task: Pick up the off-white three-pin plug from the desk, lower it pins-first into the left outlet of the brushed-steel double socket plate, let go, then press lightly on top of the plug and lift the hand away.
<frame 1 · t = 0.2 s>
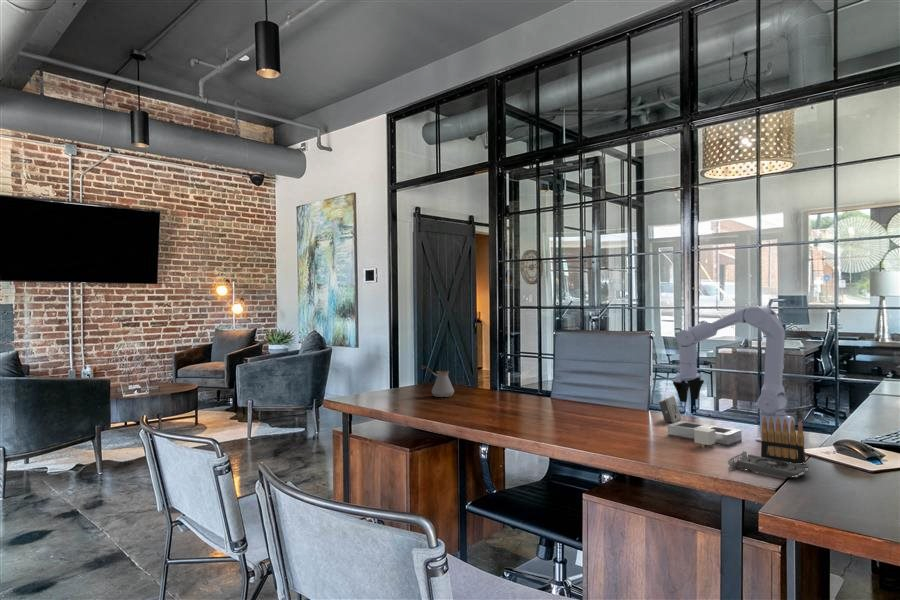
hand: (688, 400, 196), 10 cm above the table, tool pointing down, fingers open, 7 cm apart
graphics card: (766, 475, 143), on the table
coffee pot: (436, 396, 276), on the table
plug: (705, 446, 171), on the table
socket plate: (703, 438, 181), on the table
electrical switch: (670, 421, 208), on the table
ammunition clip: (782, 461, 154), on the table
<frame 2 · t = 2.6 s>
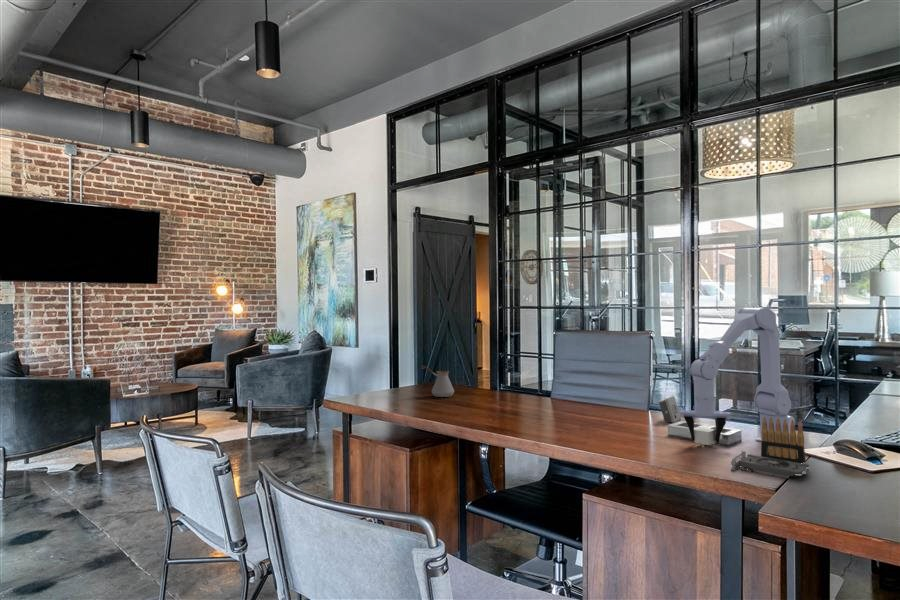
hand: (705, 441, 171), 2 cm above the table, tool pointing down, fingers closed on plug, 6 cm apart
plug: (705, 446, 171), on the table, touching gripper
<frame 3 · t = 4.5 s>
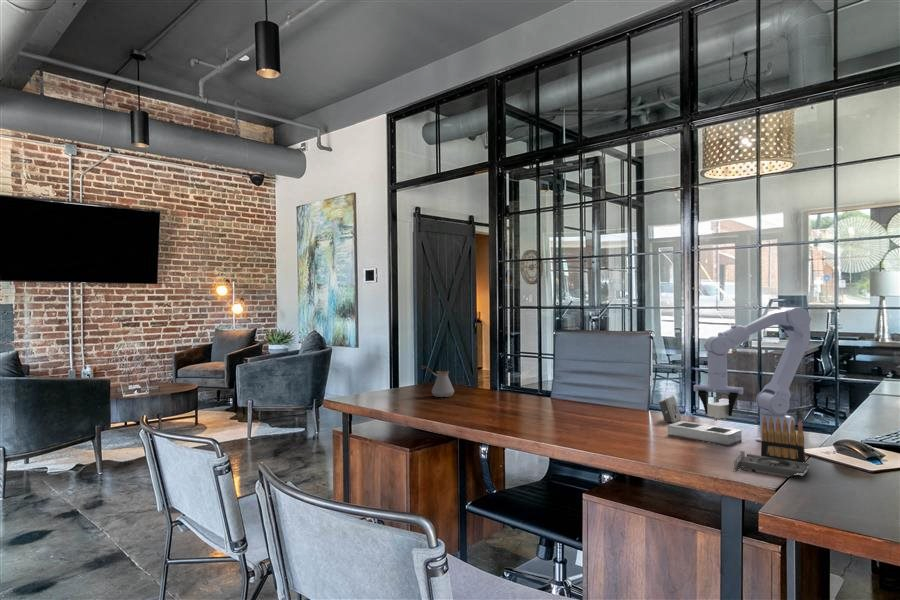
hand: (718, 414, 177), 9 cm above the table, tool pointing down, fingers closed on plug, 6 cm apart
plug: (718, 419, 177), point 7 cm above the table, touching gripper
when the fingers open (4 cm above the table, at t = 6.4 s): plug drops 2 cm, resting on socket plate.
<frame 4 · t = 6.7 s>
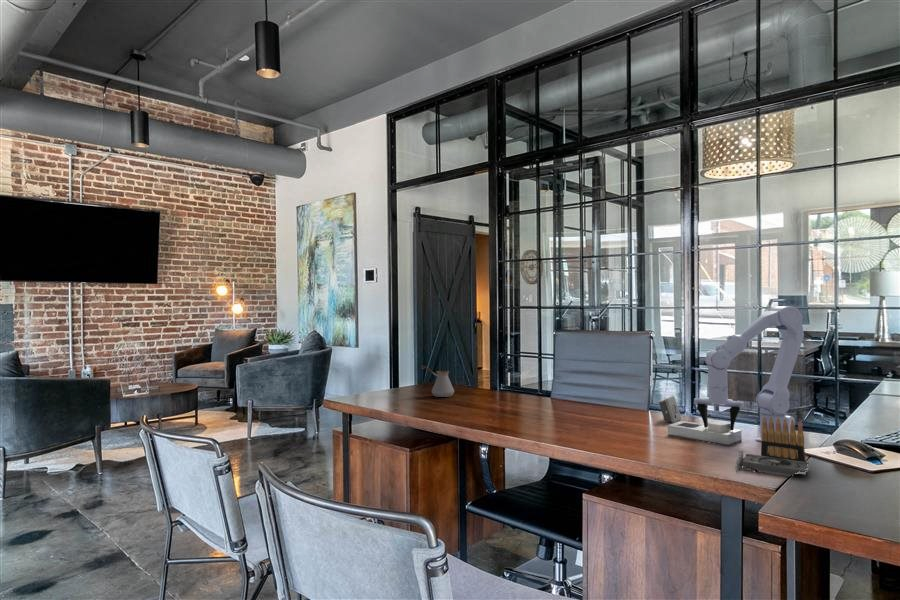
hand: (718, 428, 177), 4 cm above the table, tool pointing down, fingers open, 7 cm apart
plug: (719, 439, 177), resting on socket plate
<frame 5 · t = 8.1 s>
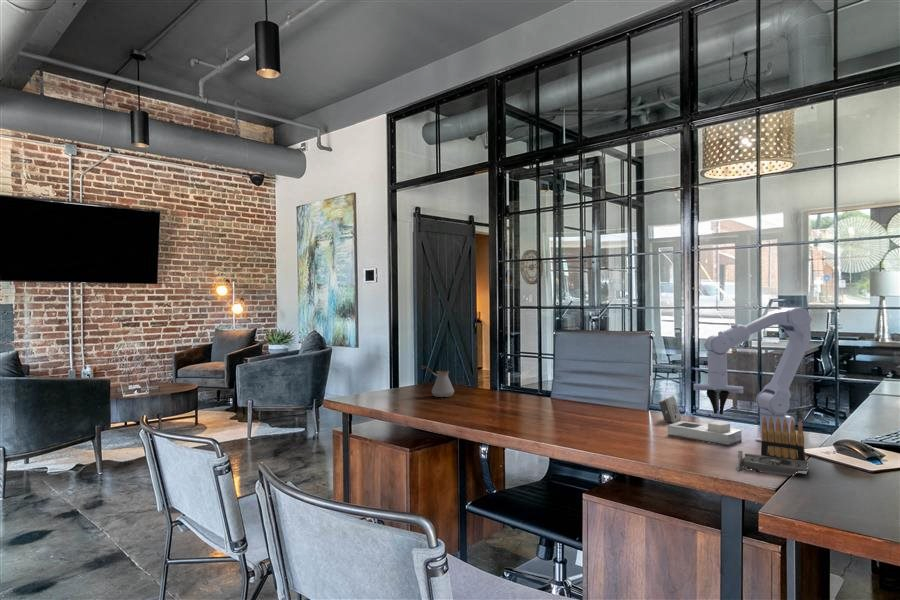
hand: (718, 413, 177), 9 cm above the table, tool pointing down, fingers closed
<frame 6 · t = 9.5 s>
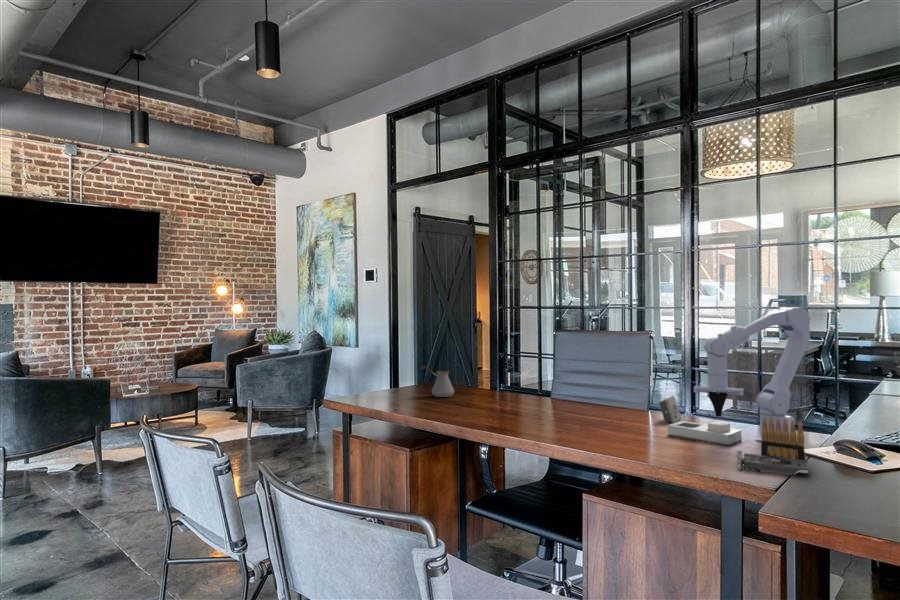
hand: (718, 415, 177), 8 cm above the table, tool pointing down, fingers closed
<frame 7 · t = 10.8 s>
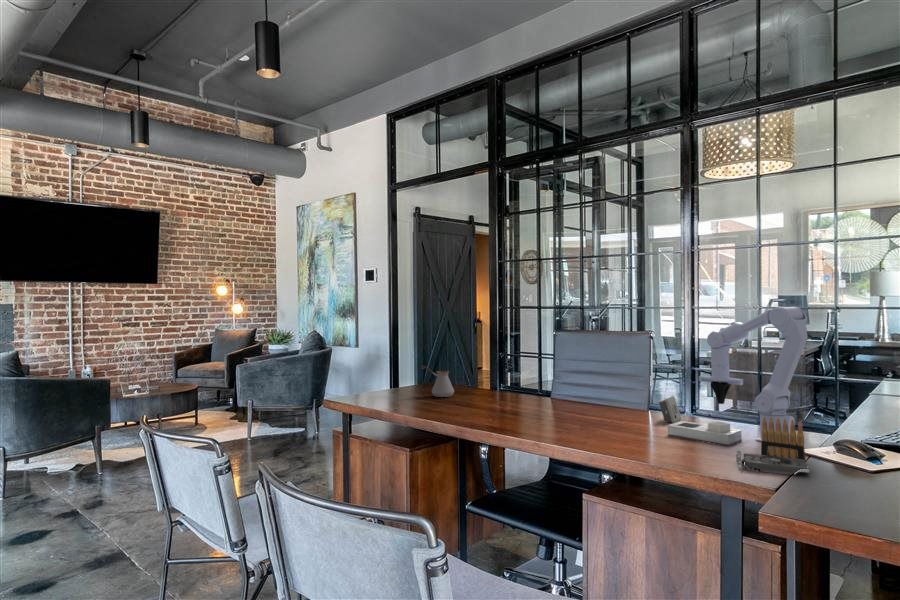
hand: (721, 403, 192), 9 cm above the table, tool pointing down, fingers closed
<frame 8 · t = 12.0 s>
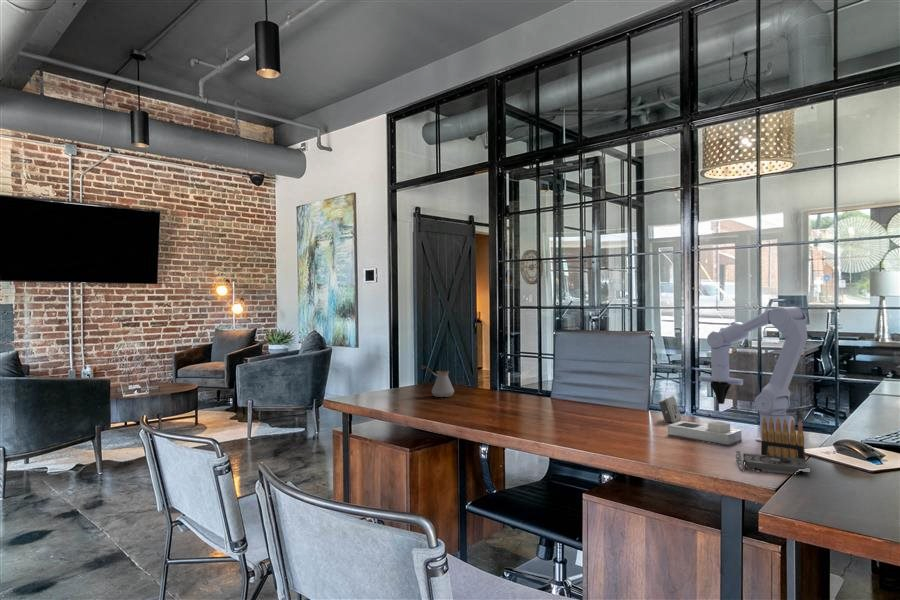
hand: (721, 403, 192), 9 cm above the table, tool pointing down, fingers closed
at the end: plug 0.1 cm from the target spot on the socket plate, point 0.5 cm above the socket plate's base; plug tilted 0°; the gripper is holding nothing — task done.
